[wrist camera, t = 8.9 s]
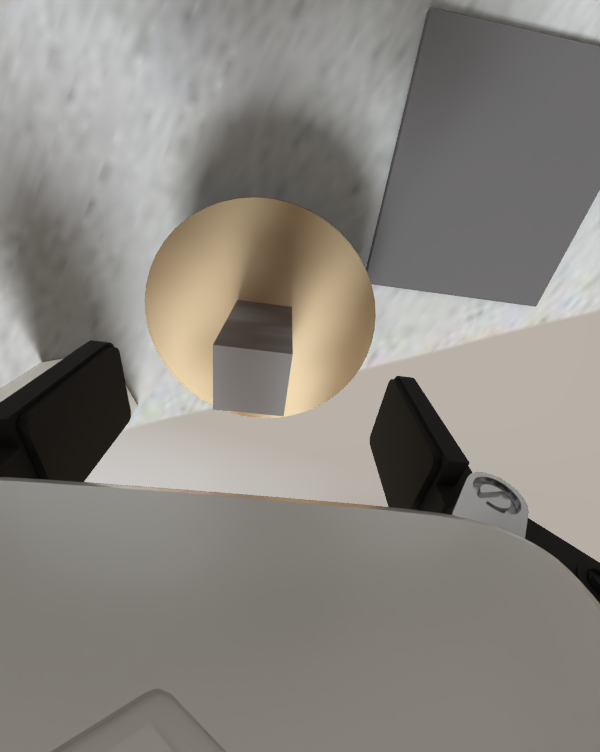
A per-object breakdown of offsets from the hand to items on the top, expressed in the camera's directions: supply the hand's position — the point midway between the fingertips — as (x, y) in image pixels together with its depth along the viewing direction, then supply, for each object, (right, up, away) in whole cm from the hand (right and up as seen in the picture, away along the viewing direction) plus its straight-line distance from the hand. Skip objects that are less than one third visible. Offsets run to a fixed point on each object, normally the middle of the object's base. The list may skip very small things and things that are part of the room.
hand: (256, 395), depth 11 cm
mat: (+14, +13, +9) cm, 22 cm away
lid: (-1, +4, +7) cm, 8 cm away
